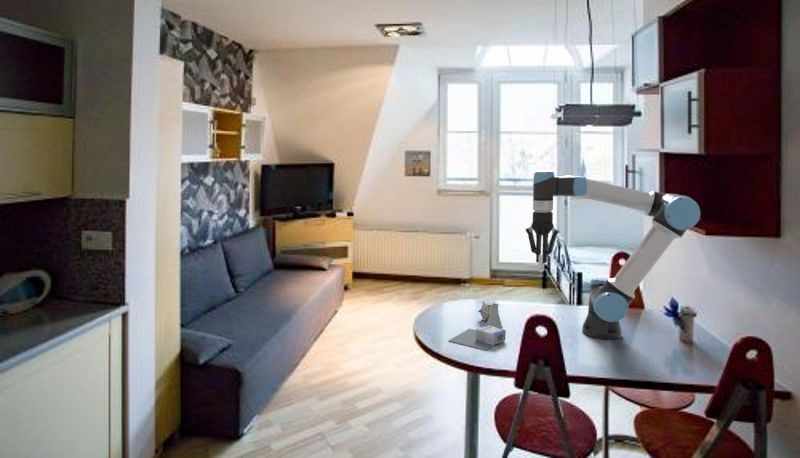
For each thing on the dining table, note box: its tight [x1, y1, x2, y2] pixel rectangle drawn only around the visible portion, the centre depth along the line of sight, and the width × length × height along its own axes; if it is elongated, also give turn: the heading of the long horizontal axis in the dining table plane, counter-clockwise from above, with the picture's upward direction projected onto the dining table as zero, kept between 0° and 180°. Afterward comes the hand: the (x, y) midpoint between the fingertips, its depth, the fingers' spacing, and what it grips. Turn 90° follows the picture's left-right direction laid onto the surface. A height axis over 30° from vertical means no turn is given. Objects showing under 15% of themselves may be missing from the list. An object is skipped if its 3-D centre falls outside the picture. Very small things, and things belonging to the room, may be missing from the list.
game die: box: [477, 301, 496, 322], centre depth 237 cm, size 9×8×10 cm
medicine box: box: [475, 325, 507, 346], centre depth 211 cm, size 8×4×9 cm
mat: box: [448, 328, 495, 351], centre depth 213 cm, size 16×18×1 cm
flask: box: [485, 302, 503, 329], centre depth 228 cm, size 7×7×10 cm
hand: (541, 270), depth 213 cm, fingers closed
